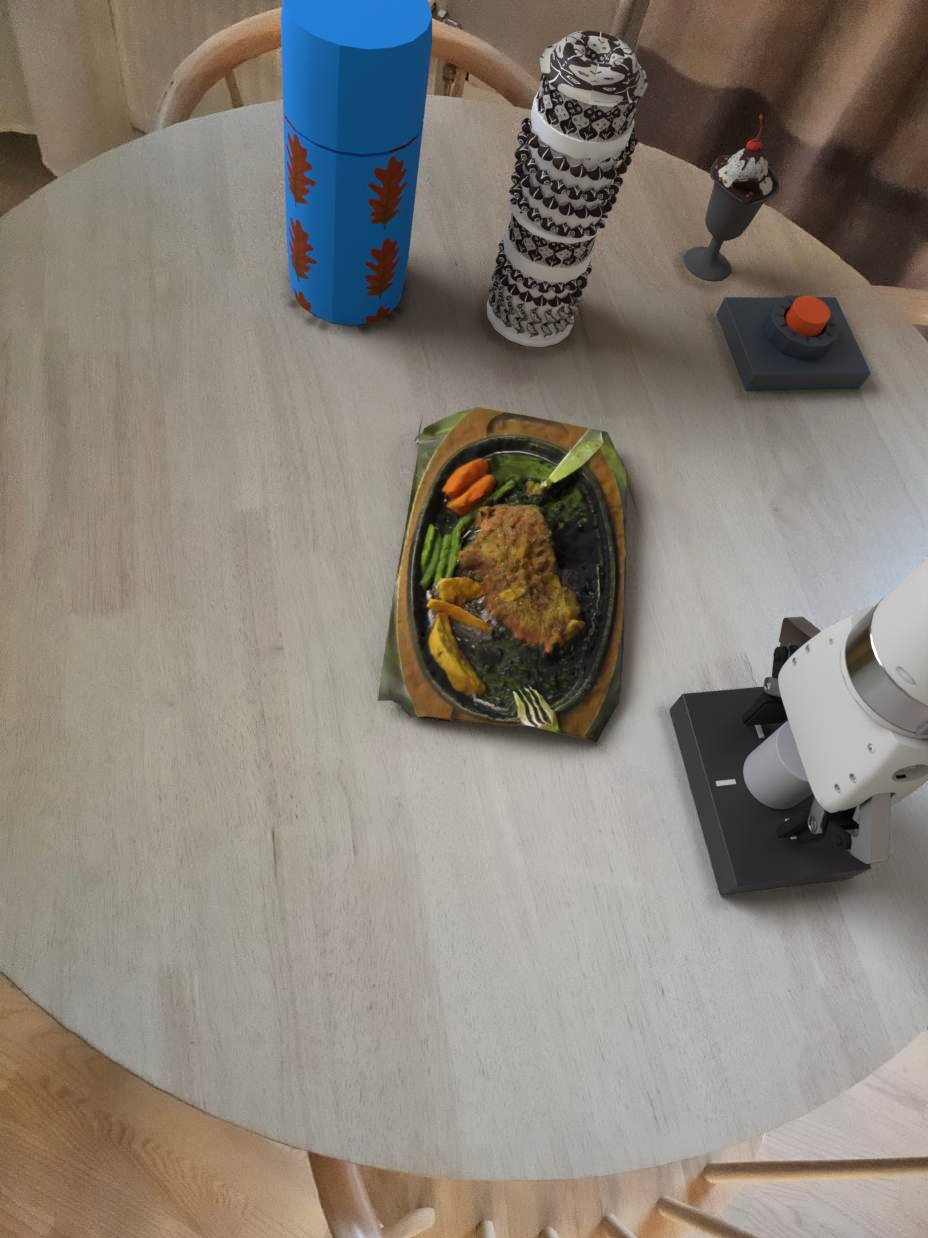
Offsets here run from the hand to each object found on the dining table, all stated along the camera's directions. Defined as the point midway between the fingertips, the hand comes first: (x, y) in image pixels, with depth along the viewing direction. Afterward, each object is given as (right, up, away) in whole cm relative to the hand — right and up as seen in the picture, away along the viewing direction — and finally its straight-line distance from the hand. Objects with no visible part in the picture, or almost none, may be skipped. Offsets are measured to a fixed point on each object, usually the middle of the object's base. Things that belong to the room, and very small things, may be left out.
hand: (779, 773), depth 66 cm
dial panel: (-1, -2, +3) cm, 4 cm away
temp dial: (0, 0, +1) cm, 1 cm away
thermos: (-33, +42, +22) cm, 58 cm away
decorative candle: (-16, +40, +24) cm, 49 cm away
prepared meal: (-18, +15, +10) cm, 25 cm away
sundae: (+3, +47, +31) cm, 56 cm away
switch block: (+10, +37, +26) cm, 46 cm away
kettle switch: (+10, +39, +23) cm, 46 cm away
